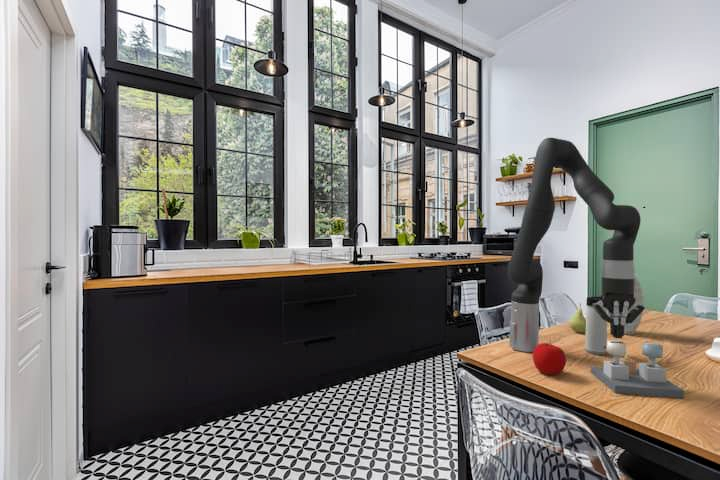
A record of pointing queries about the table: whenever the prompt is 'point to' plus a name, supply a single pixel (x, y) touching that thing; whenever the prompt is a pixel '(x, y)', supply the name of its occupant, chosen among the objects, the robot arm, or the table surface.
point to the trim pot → (629, 364)
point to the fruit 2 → (578, 322)
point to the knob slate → (652, 352)
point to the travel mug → (595, 329)
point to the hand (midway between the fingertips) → (617, 337)
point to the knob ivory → (616, 350)
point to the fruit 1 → (549, 358)
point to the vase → (638, 295)
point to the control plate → (637, 380)
